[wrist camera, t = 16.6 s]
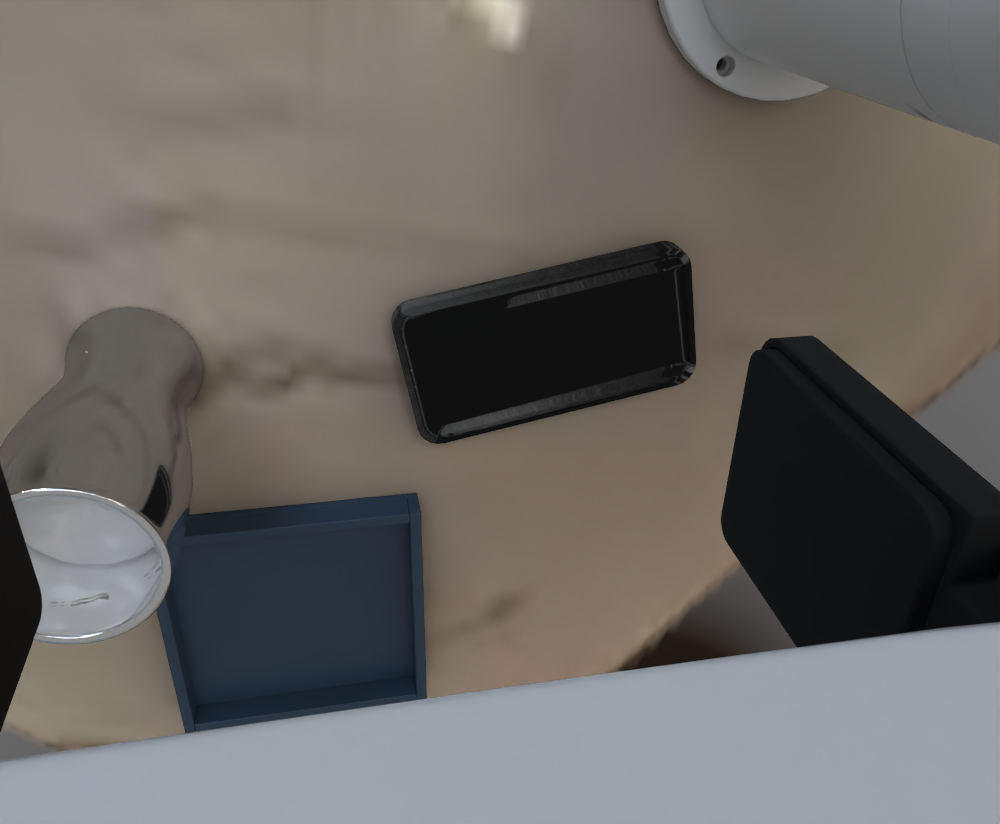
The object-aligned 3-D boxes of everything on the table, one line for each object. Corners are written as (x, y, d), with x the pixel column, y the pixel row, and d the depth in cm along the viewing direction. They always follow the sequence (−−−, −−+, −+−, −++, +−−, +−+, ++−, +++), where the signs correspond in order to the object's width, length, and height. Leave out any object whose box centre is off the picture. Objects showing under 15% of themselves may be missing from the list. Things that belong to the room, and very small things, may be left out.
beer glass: (227, 318, 41) (196, 505, 28) (197, 441, 44) (157, 660, 31) (67, 279, 39) (-45, 464, 26) (46, 412, 42) (-64, 636, 29)
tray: (417, 492, 48) (421, 513, 47) (423, 676, 55) (426, 699, 54) (145, 519, 46) (140, 541, 44) (188, 708, 53) (185, 733, 51)
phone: (696, 380, 47) (422, 448, 45) (688, 370, 48) (420, 437, 46) (690, 241, 42) (388, 312, 41) (681, 234, 43) (386, 303, 42)
